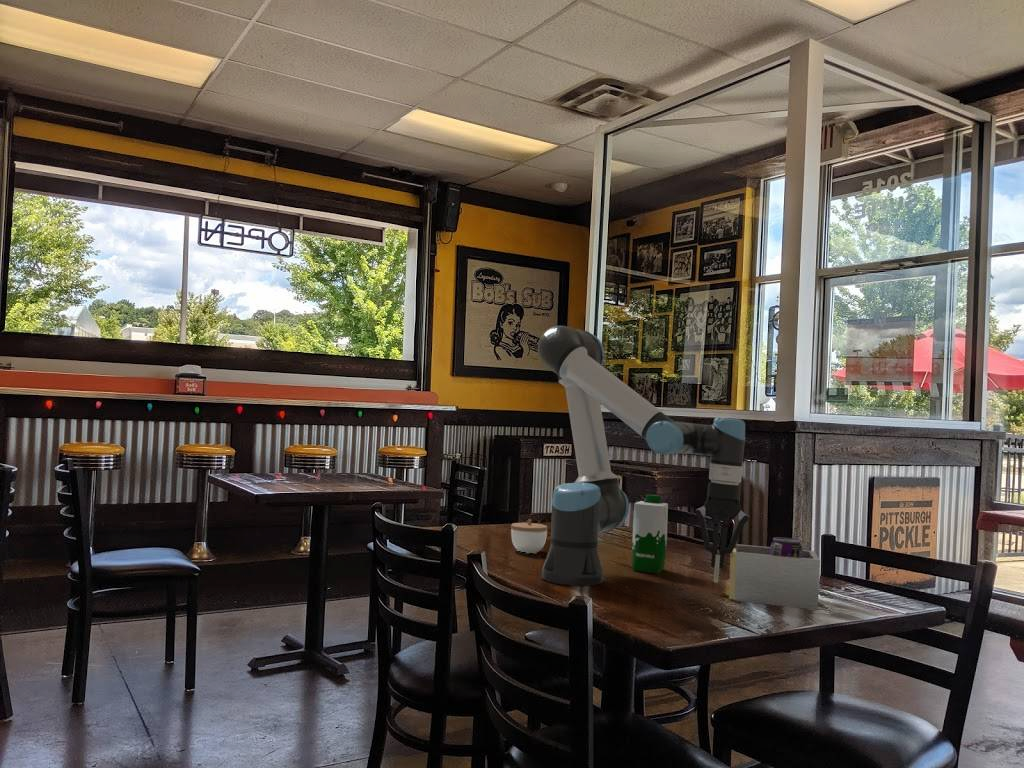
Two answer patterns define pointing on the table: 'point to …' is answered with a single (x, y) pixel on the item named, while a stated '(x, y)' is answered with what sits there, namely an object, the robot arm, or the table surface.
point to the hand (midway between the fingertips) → (715, 581)
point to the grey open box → (776, 578)
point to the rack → (732, 574)
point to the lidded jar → (528, 536)
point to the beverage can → (786, 547)
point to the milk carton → (649, 534)
